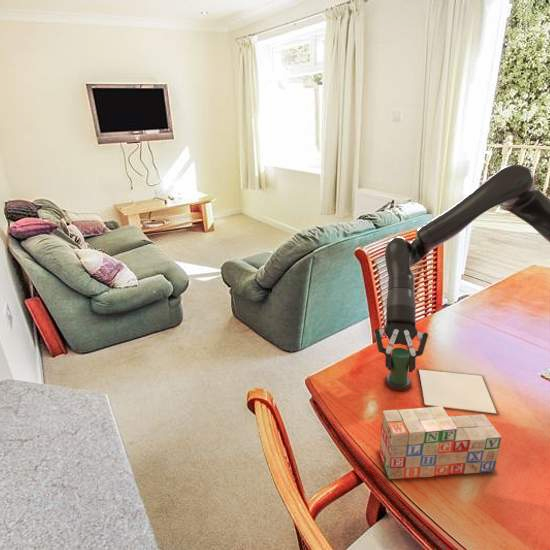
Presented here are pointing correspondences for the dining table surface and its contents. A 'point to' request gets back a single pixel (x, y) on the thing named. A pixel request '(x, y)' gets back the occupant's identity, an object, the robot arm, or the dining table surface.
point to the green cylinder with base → (399, 370)
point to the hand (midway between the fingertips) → (399, 370)
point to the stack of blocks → (436, 443)
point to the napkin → (455, 391)
